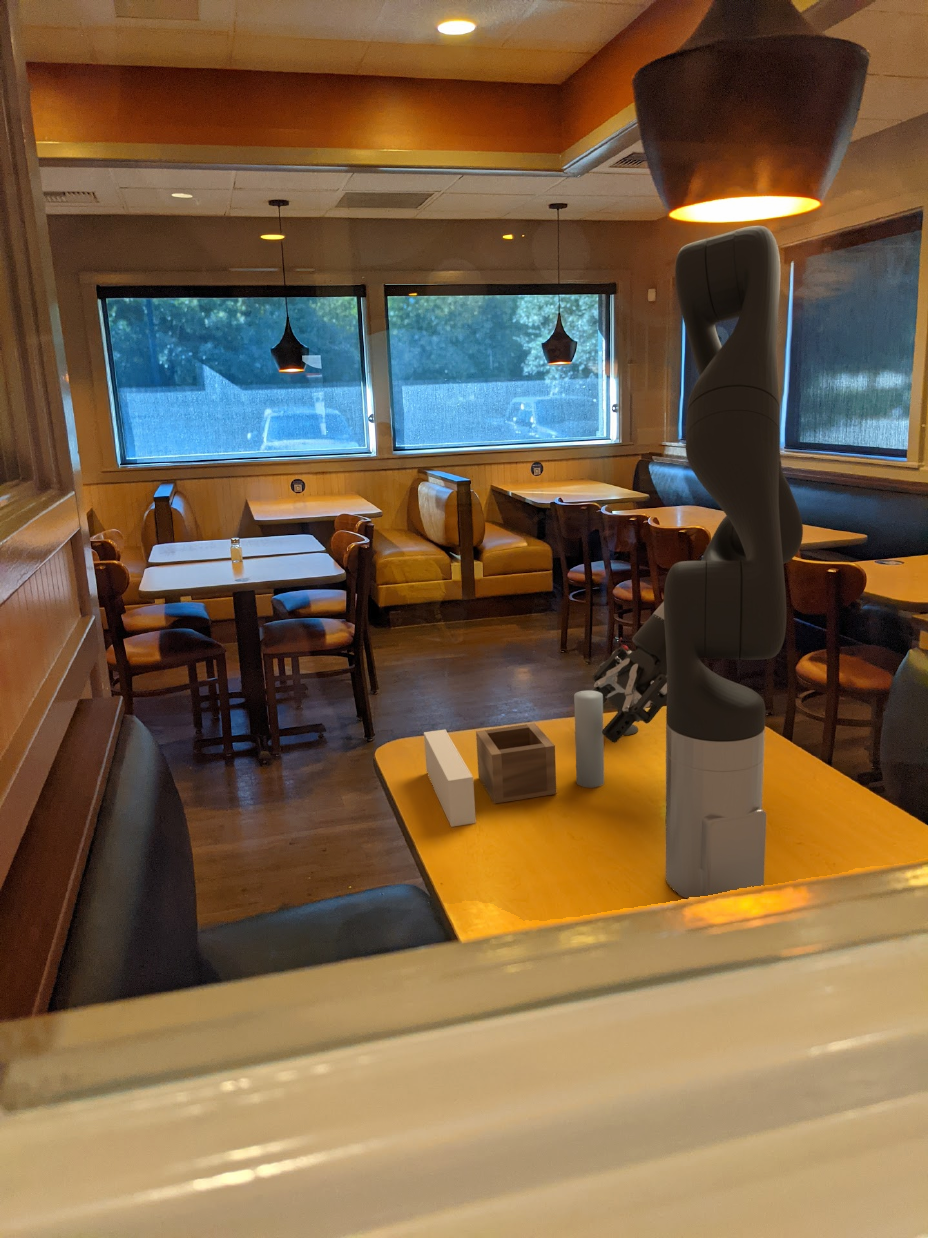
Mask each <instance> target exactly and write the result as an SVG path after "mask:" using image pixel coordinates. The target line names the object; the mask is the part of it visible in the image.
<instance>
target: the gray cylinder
mask: <svg viewBox="0 0 928 1238" xmlns="http://www.w3.org/2000/svg"><path fill="white" fill-rule="evenodd" d="M573 699H574V701H573V702H574V703H573V704H574V705H573V706H574V732H575V733H574V739H575V740H574V741H575V746H574V747H575V775H576V776H575V777H576V779H575V780H576V784H577V785H579V786H580V787H583V788H589V789H591V788H592V789H593V788H599V787H601V786H603V785H604V783H605V763H604V762H605V759H604V757H605V754H604V753H605V751H604V750H605V748H604V746H605V745H604V735H603V734H602V730H603V729H604V704H603V694H602V693H600V692H597V691H593V690H581V691H577V692H575V693H574V695H573Z"/></svg>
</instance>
